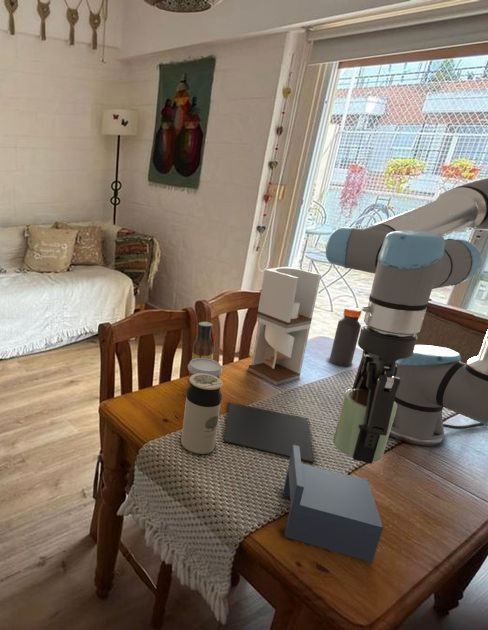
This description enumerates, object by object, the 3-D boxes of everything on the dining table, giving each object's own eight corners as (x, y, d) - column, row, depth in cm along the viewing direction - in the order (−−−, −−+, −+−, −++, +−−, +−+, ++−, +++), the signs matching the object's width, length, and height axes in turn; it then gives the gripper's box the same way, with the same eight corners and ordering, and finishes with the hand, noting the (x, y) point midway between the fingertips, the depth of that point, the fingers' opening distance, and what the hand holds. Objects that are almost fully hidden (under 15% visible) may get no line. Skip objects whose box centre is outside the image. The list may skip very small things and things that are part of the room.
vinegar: (349, 360, 157) (363, 307, 150) (352, 368, 151) (366, 313, 144) (328, 357, 159) (340, 304, 153) (330, 364, 153) (342, 310, 147)
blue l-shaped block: (358, 511, 89) (373, 462, 85) (372, 562, 77) (389, 509, 73) (282, 491, 94) (292, 444, 90) (284, 537, 82) (296, 485, 78)
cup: (377, 441, 81) (391, 393, 77) (387, 466, 74) (403, 414, 71) (330, 431, 84) (342, 384, 80) (336, 455, 77) (348, 404, 74)
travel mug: (175, 437, 112) (182, 374, 106) (203, 433, 113) (212, 371, 107) (190, 457, 104) (199, 390, 98) (220, 452, 106) (230, 386, 100)
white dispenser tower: (248, 370, 149) (264, 269, 137) (270, 364, 153) (288, 266, 141) (275, 384, 139) (296, 277, 127) (299, 378, 143) (321, 274, 131)
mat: (306, 419, 120) (306, 418, 120) (313, 463, 103) (313, 461, 103) (229, 403, 128) (229, 402, 127) (224, 441, 110) (224, 440, 110)
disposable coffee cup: (213, 394, 133) (218, 358, 129) (220, 410, 124) (226, 372, 120) (181, 392, 134) (185, 356, 130) (186, 408, 125) (191, 371, 121)
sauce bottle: (212, 380, 141) (220, 323, 134) (207, 388, 136) (215, 329, 129) (192, 375, 144) (199, 318, 138) (186, 383, 139) (193, 324, 133)
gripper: (352, 307, 81) (327, 413, 89) (376, 348, 64) (342, 476, 71) (400, 312, 79) (370, 421, 86) (440, 357, 61) (397, 489, 68)
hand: (357, 446), depth 79 cm, fingers closed on cup, 8 cm apart
